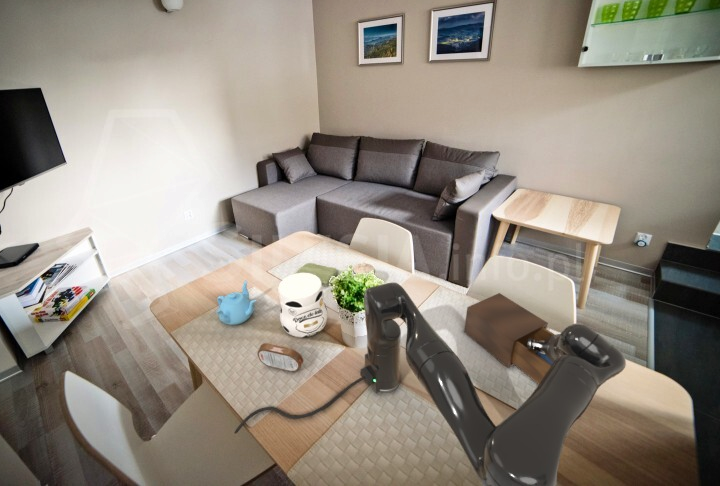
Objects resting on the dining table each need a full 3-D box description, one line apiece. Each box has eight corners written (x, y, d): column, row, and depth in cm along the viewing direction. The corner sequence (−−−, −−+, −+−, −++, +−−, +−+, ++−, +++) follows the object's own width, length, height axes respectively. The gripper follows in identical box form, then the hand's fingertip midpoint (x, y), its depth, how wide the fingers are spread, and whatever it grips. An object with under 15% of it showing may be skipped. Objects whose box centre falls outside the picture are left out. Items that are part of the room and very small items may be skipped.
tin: (304, 368, 103) (302, 348, 100) (301, 376, 101) (298, 356, 97) (262, 358, 108) (258, 339, 105) (258, 365, 106) (254, 346, 102)
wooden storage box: (540, 349, 103) (548, 323, 98) (507, 368, 98) (514, 341, 93) (494, 317, 117) (499, 292, 112) (463, 332, 112) (467, 307, 107)
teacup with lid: (369, 296, 133) (369, 272, 128) (349, 289, 138) (348, 266, 133) (381, 280, 142) (381, 257, 137) (362, 275, 147) (361, 252, 142)
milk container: (311, 349, 110) (306, 307, 103) (272, 331, 119) (264, 292, 111) (336, 317, 123) (333, 277, 116) (299, 303, 132) (294, 266, 124)
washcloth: (306, 265, 158) (306, 259, 156) (339, 273, 150) (339, 267, 148) (291, 280, 147) (291, 274, 146) (326, 289, 139) (325, 283, 138)
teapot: (216, 310, 133) (211, 289, 128) (253, 299, 137) (248, 278, 133) (220, 334, 120) (214, 312, 116) (260, 320, 125) (256, 299, 120)
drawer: (603, 392, 88) (613, 368, 84) (571, 414, 83) (580, 390, 79) (532, 342, 104) (538, 321, 100) (502, 359, 99) (507, 337, 96)
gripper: (530, 357, 81) (518, 356, 96) (603, 375, 75) (579, 371, 89) (532, 326, 83) (520, 330, 98) (603, 342, 77) (580, 343, 91)
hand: (548, 349), depth 93 cm, fingers closed on cup, 6 cm apart
